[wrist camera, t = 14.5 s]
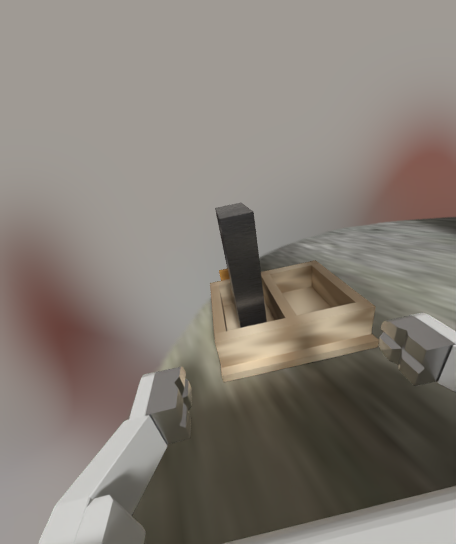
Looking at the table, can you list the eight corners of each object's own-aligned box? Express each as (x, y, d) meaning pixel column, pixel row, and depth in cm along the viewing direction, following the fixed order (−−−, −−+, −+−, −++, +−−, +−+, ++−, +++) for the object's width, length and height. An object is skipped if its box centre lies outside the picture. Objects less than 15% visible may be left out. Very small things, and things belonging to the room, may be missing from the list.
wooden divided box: (313, 283, 28) (313, 249, 26) (377, 347, 18) (386, 299, 16) (215, 304, 28) (206, 271, 26) (223, 382, 18) (210, 338, 16)
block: (256, 306, 25) (241, 202, 20) (268, 335, 20) (253, 211, 15) (235, 310, 25) (215, 208, 20) (243, 341, 20) (219, 218, 15)
